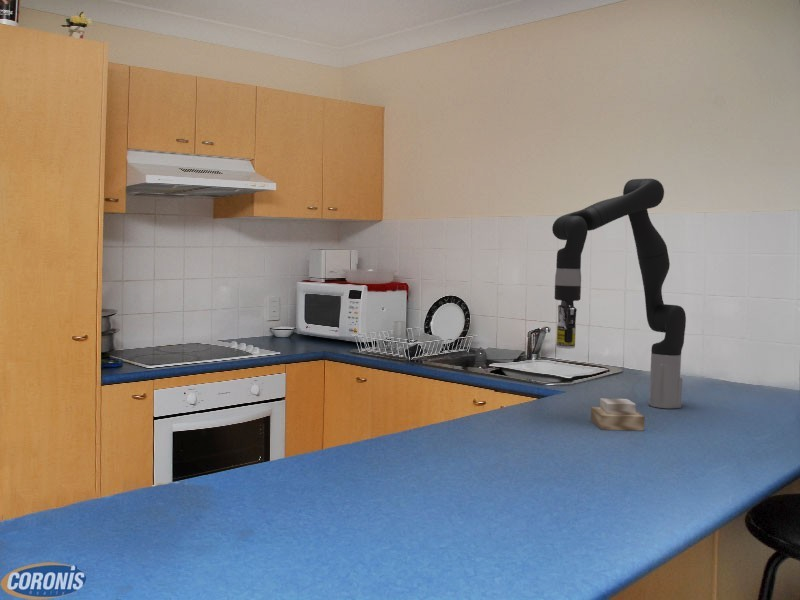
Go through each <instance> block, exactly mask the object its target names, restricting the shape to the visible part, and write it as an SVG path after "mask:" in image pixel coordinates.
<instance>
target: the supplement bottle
mask: <svg viewBox="0 0 800 600" xmlns="http://www.w3.org/2000/svg"><path fill="white" fill-rule="evenodd" d="M566 319H567V318H566ZM560 320H561V321H560V322H558V321H557V325H556V347H557V348H559V349H565V350H566V349H567V350H568V349H569V350H570V349H571V350H572V349H574V348H575V347H576V331H577V330H576V327H577V326H576V323H575V328H574V329H573V336H572V342H571V343H567V342H565V341H564V335H565V328H564V322H563V321H562V314H560ZM569 324H571V323H570V322H569Z"/></svg>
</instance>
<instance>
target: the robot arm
mask: <svg viewBox="0 0 800 600" xmlns="http://www.w3.org/2000/svg"><path fill="white" fill-rule="evenodd" d="M664 198H665V188H664V185H663V184H662V183H661V181H659V180H657V179H655V178H634V179H633V178H632V179H629V180H628V181H627V182H626V183H625V185H624V186H623V191H622V195H619V196H615V197H612V198H607V199H603V200H601V201H598V202H596V203H593V204H591V205H588V206H587V207H585V208H583V209H581V210H576V211H573V212H570V213H567V214H564V215H561V216H559V217H557V218H556V219H555V221H554V222H553V224H552V227H551V228H552V230H551V231H552V234H553V235H554V236H555V238H556V239H558V240H561V241H565V242H566V243H565V245H564V247H563V248H560V249H558V250H557V252H556V270H555V276H554V300H555V301H560V304H558V305H557V311H558V314H557V315H558V316H557V317H558V318H557V319H558V320H557V323H558V322H560V321H561V320H560V314H562V321H563V322H564V328H565V335H564V341H565V342H567V343H571V342H572V336H573V329H574V328H575V324H576V322H577V321H576V320H577V311H578V310H577V308H576V307H575V304H574V302H575V301H576V302H578V301H580V300H581V294H582V293H581V291H582V273H581V272H582V271H581V267H582V253H583V250H584V248H585V243H586V240H587V236H588V231H589V232H590V231H594V230H597V229H600V228H601V227H603V226H605V225H607V224H610V223H611V222H614V221H615V220H618V219H620V218H623V217H625V216H628V219H629V222H630V225H631V229H632V234H633V238H634V243H635V249H636V254H637V260H638V264H639V268H640V274H641V279H642V280H641V281H642V285H643V292H644V293H643V294H644V300H645V303H644V304H645V311H646V312H645V313H646V320H647V323H648V327H650V330H652V331H653V332H658V333H662V334H663V333H664V339H663V340H661V341H659V342H655V343H653V344H652V345H651V349H650V351H651V354H650V355H651V357H650V375H649V396H648V405H649V406H651V407H652V408H653V407H654V408H660V409H682V395H683V393H682V392H683V379H682V378H681V367H682V366H681V364H682V350H683V347H684V344H685V334H686V323H687V316H686V315H687V314H686V311H685V309H684V308H683V307H682V306H681V305H676V304H665V303H664V300H663V294H662V292H663V291H662V289H663V284H664V283H665V280H666V277H667V275H668V274H669V270H670V265H671V264H670V257H669V253H668V251H669V250H668V246H667V244H666V242H665V240H664V238H663V237H662V235H661V234H660V232H659V231H658V230H657V229H656V227H655V226H654V224H653V223H652V221H651V219H650V216H649V212H648V209H652V208H656V207H658V206H659V205H660V204H661V203H662V202H663V199H664ZM566 318H567V319H566ZM569 322H570V323H571V324H569Z"/></svg>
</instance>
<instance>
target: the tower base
mask: <svg viewBox="0 0 800 600" xmlns="http://www.w3.org/2000/svg"><path fill="white" fill-rule="evenodd" d="M636 405H637V404H636V403H635V402H633V401H631V400H629V399H628V398H607V397H606V398H602V397H601V398H599V406H591V407H590V421H591V422H592V424H594V425H595V426H596V427H598V428H599V429H600V430H602V431H643V432H644V431H645V422H646V421H645V419H646V418H645V416H644V415H643V414H642V413H641V412H639V411H637V410H636V408H637V406H636Z"/></svg>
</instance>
